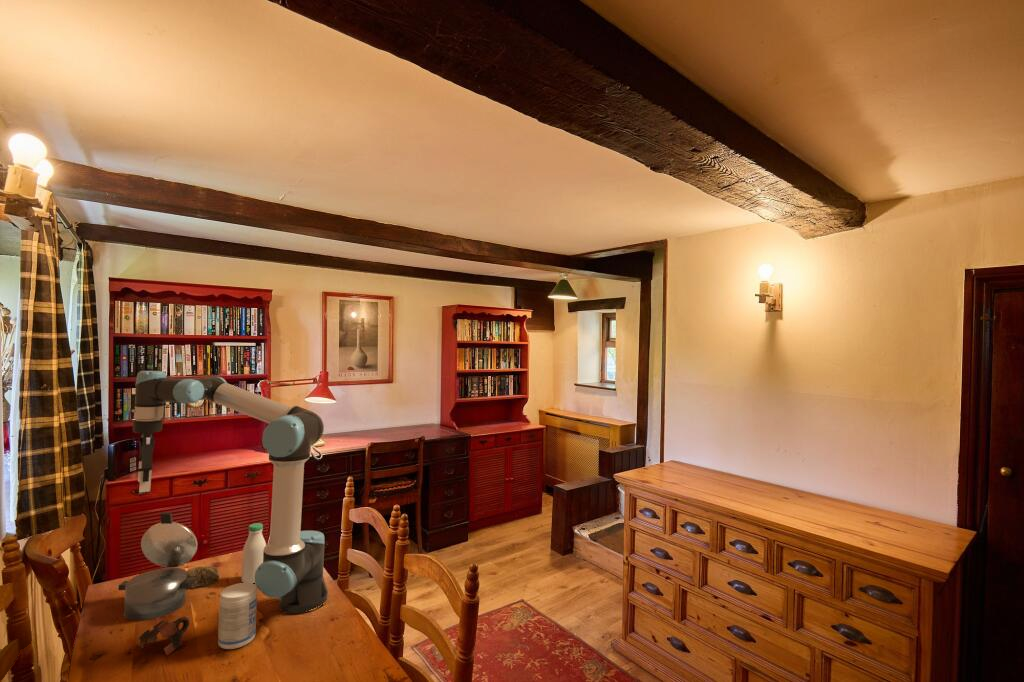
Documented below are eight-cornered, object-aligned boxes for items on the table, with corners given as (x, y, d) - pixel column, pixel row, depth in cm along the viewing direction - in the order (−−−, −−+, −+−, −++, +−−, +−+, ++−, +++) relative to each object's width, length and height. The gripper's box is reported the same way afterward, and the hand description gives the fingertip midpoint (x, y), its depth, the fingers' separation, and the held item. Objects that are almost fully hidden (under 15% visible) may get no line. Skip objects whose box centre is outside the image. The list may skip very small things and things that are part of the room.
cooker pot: (176, 619, 149) (177, 590, 149) (102, 622, 146) (104, 592, 147) (204, 591, 166) (205, 565, 166) (138, 593, 163) (140, 567, 164)
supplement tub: (256, 644, 138) (259, 592, 138) (218, 655, 133) (220, 601, 133) (253, 627, 146) (255, 578, 146) (217, 637, 141) (219, 586, 141)
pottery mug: (157, 664, 129) (142, 637, 129) (142, 668, 133) (128, 642, 133) (201, 630, 140) (187, 605, 140) (186, 635, 144) (173, 611, 144)
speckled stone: (176, 579, 175) (177, 565, 175) (216, 570, 183) (216, 557, 183) (182, 593, 165) (183, 579, 165) (223, 582, 173) (224, 568, 173)
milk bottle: (258, 585, 172) (260, 529, 172) (236, 584, 172) (239, 528, 172) (269, 575, 179) (271, 521, 180) (248, 574, 180) (251, 520, 180)
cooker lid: (192, 514, 160) (194, 512, 161) (136, 514, 158) (139, 512, 159) (197, 566, 165) (199, 564, 166) (144, 568, 163) (146, 565, 164)
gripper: (132, 414, 160) (128, 478, 160) (134, 425, 141) (129, 498, 140) (160, 413, 165) (156, 475, 164) (165, 424, 146) (160, 494, 145)
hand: (143, 486), depth 152 cm, fingers open, 13 cm apart
